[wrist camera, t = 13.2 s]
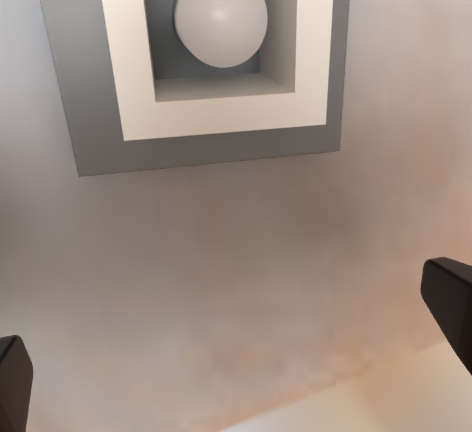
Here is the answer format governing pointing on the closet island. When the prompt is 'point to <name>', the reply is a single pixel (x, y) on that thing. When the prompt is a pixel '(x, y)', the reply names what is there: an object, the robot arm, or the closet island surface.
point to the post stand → (177, 66)
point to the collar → (224, 76)
